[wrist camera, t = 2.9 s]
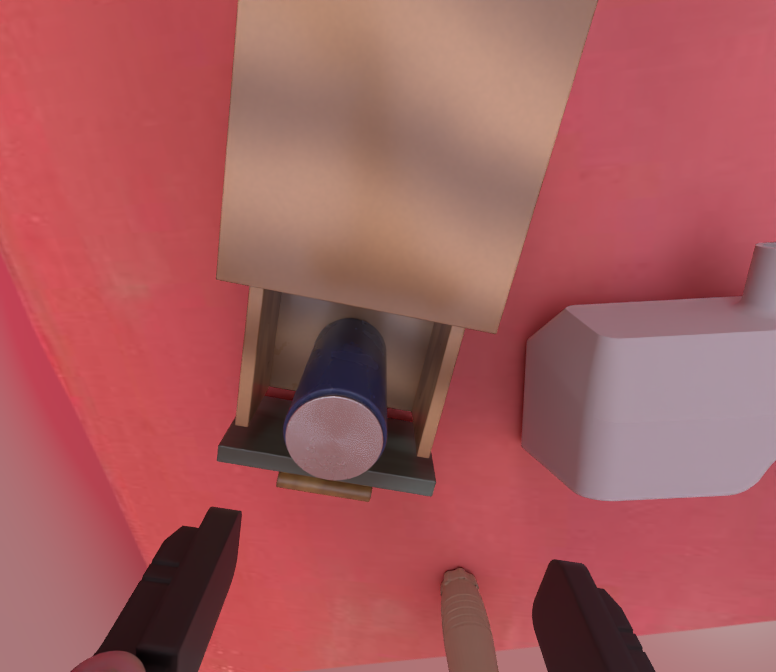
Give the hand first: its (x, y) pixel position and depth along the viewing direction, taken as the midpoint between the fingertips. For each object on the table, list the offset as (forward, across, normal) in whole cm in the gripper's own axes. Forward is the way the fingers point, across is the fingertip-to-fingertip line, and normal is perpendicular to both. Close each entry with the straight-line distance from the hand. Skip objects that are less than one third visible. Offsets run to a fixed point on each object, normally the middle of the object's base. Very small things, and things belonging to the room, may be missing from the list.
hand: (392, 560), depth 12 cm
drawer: (+22, +2, +4) cm, 22 cm away
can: (+20, +2, +3) cm, 21 cm away
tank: (+23, -22, -2) cm, 32 cm away
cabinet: (+23, +2, -10) cm, 25 cm away
